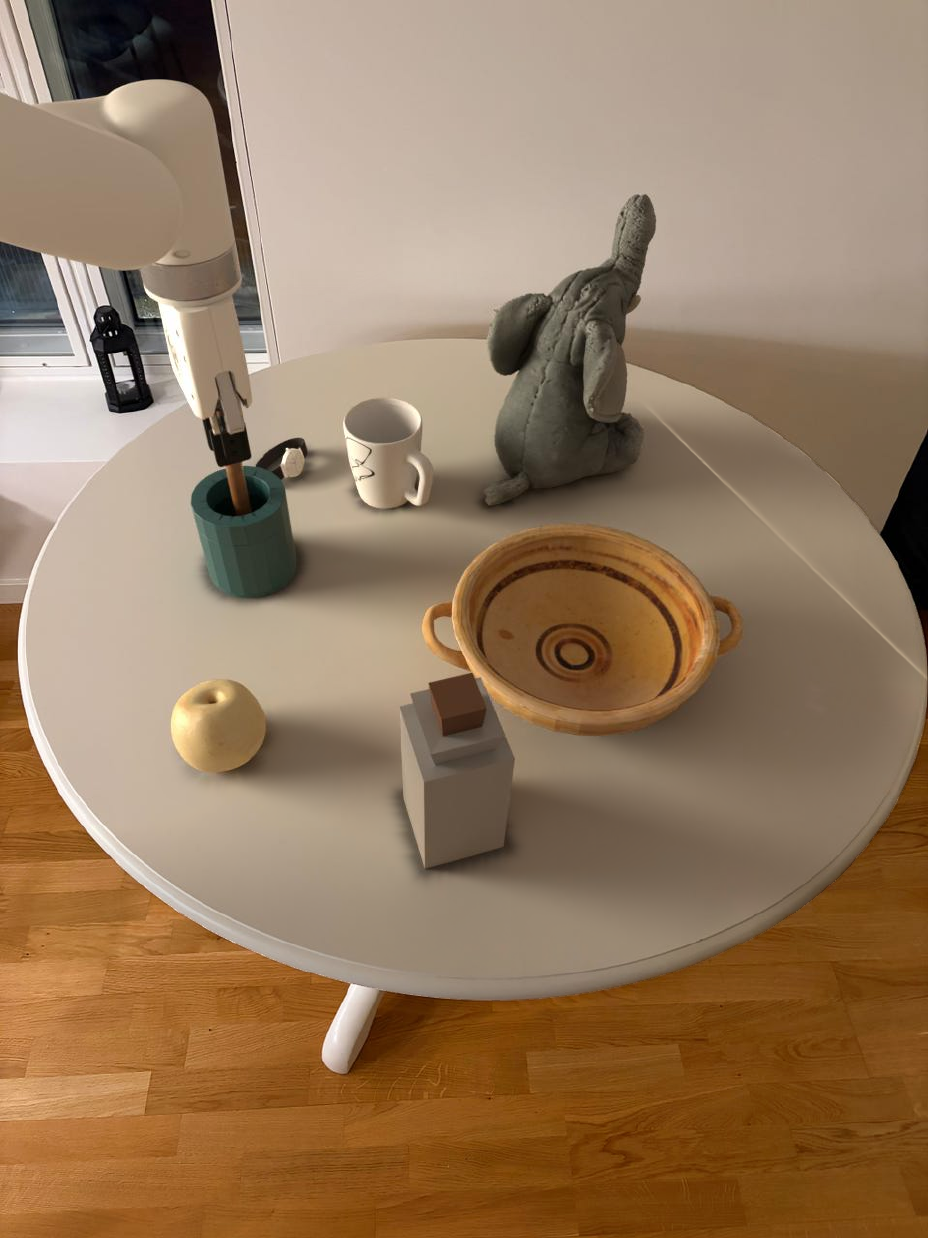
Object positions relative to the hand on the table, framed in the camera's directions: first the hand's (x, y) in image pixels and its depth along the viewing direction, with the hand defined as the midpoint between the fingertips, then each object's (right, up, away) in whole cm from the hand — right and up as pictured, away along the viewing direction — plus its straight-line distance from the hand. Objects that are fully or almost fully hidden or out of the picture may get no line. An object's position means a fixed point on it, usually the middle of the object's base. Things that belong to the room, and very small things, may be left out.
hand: (230, 452), depth 84 cm
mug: (+14, -2, +19) cm, 24 cm away
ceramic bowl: (+33, -20, +4) cm, 39 cm away
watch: (0, +2, +22) cm, 22 cm away
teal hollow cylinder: (0, -10, +11) cm, 15 cm away
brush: (0, -10, +11) cm, 15 cm away
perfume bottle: (+21, -33, -8) cm, 40 cm away
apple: (0, -27, -3) cm, 27 cm away
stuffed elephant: (+33, +4, +25) cm, 42 cm away
